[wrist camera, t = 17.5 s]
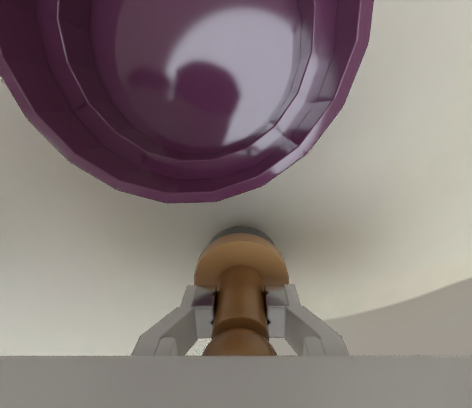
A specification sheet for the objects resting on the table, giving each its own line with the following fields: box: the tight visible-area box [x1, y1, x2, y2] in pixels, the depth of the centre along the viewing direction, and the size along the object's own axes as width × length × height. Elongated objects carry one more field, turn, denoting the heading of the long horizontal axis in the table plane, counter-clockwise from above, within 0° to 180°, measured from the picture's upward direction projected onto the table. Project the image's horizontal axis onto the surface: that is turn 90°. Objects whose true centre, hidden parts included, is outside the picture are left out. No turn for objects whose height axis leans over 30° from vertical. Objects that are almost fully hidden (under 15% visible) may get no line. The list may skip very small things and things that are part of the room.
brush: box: [194, 226, 289, 356], centre depth 12 cm, size 5×5×9 cm
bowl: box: [0, 0, 374, 203], centre depth 12 cm, size 14×14×6 cm
